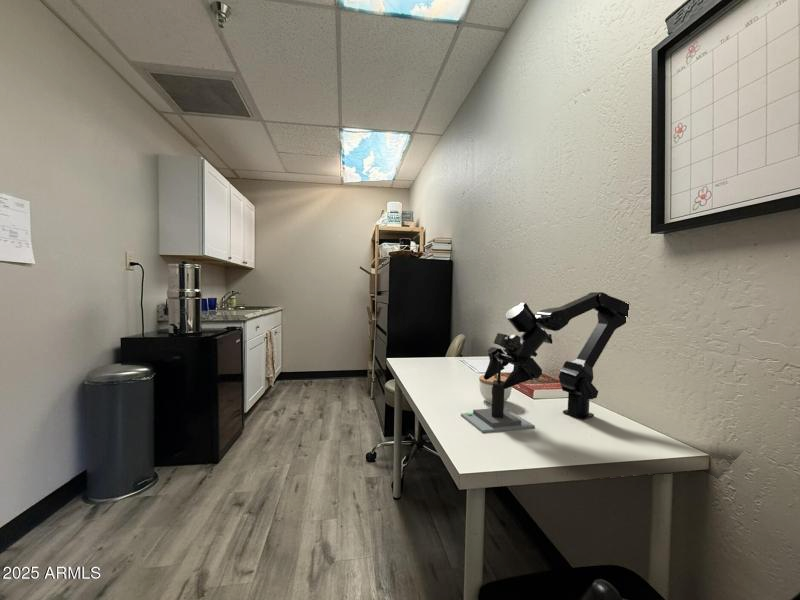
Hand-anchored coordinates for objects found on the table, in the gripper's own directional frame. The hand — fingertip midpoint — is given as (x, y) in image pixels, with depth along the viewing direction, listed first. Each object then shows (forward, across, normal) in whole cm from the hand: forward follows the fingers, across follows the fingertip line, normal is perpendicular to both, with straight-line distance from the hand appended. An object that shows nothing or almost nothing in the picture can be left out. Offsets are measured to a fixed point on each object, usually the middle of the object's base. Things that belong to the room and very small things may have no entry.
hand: (493, 383), depth 91 cm
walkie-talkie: (+5, 0, +8) cm, 9 cm away
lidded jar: (0, -16, +16) cm, 22 cm away
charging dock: (+7, 0, +9) cm, 11 cm away
